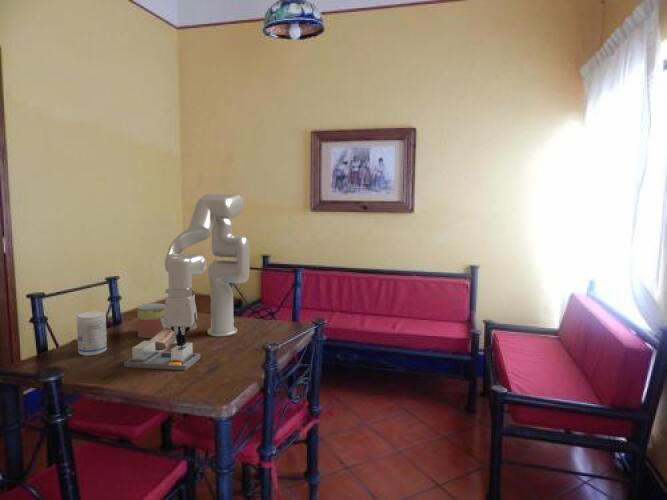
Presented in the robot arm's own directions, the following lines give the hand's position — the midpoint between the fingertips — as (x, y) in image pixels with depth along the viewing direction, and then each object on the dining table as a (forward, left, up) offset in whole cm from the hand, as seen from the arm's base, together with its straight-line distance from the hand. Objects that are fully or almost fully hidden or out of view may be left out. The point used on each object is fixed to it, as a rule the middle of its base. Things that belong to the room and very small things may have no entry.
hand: (181, 344), depth 155 cm
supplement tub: (-8, -39, -8) cm, 41 cm away
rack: (0, -7, -7) cm, 10 cm away
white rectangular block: (0, 0, -7) cm, 7 cm away
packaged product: (-19, -17, -8) cm, 27 cm away
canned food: (-33, -29, -8) cm, 45 cm away
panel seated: (0, -14, -7) cm, 16 cm away
